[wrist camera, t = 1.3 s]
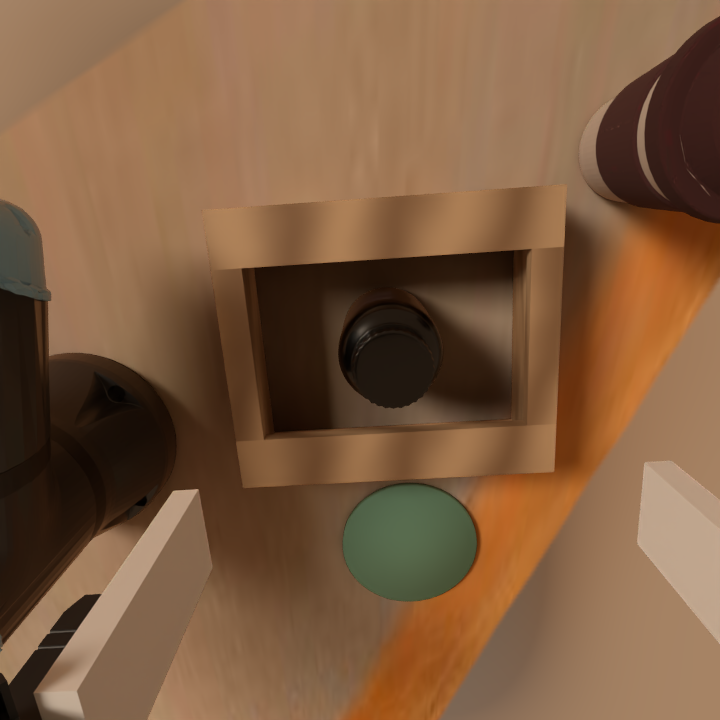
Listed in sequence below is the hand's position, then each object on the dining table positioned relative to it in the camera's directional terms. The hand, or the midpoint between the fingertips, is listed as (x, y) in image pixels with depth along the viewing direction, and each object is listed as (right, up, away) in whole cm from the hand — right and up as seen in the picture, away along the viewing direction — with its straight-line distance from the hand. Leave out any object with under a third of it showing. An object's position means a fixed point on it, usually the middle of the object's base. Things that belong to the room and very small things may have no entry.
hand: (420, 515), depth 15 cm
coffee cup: (+17, +20, +22) cm, 34 cm away
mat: (+3, -12, +31) cm, 33 cm away
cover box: (0, +7, +25) cm, 26 cm away
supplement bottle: (0, +7, +26) cm, 27 cm away
